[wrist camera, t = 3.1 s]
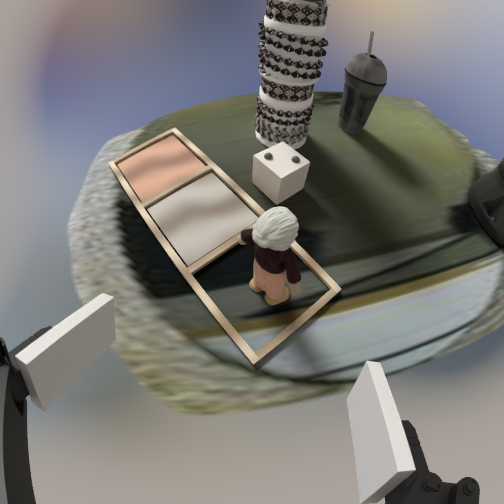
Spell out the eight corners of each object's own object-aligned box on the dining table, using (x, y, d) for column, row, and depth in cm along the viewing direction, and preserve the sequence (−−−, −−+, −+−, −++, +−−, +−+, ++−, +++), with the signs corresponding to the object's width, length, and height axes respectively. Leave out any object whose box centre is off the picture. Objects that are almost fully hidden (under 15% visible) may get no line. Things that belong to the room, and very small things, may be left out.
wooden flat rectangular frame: (339, 290, 31) (341, 288, 30) (253, 364, 26) (253, 364, 26) (175, 130, 43) (175, 127, 43) (109, 165, 39) (108, 162, 39)
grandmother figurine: (304, 290, 30) (339, 224, 19) (285, 318, 29) (314, 264, 18) (246, 254, 32) (250, 175, 21) (226, 279, 31) (219, 207, 20)
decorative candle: (241, 130, 44) (244, -15, 22) (282, 114, 47) (298, -14, 25) (278, 159, 40) (300, -6, 18) (319, 140, 43) (351, 0, 21)
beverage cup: (375, 137, 45) (409, 45, 28) (345, 141, 44) (376, 38, 26) (353, 114, 48) (378, 28, 31) (323, 117, 47) (345, 22, 29)
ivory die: (303, 188, 38) (311, 159, 33) (276, 205, 36) (281, 175, 31) (278, 167, 39) (283, 138, 35) (252, 182, 38) (253, 152, 33)
